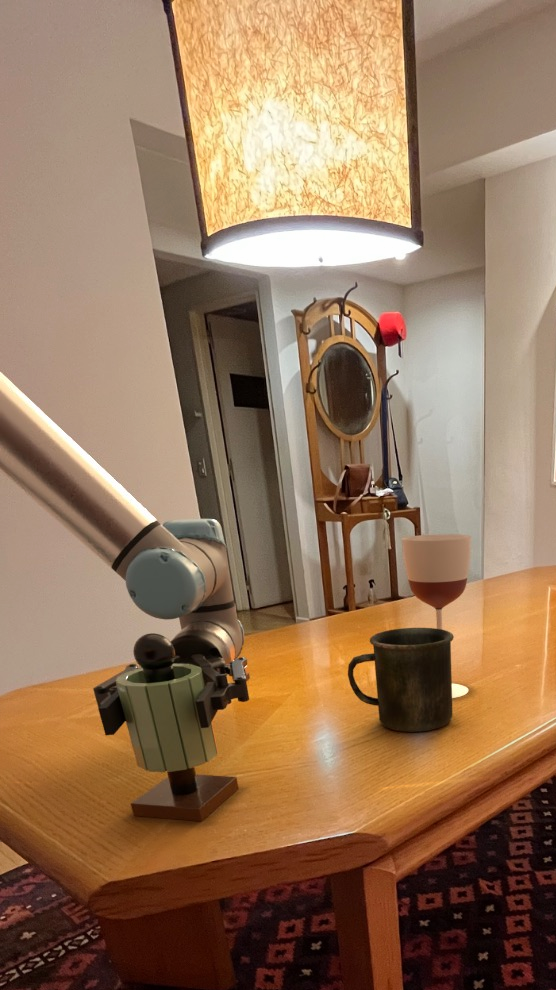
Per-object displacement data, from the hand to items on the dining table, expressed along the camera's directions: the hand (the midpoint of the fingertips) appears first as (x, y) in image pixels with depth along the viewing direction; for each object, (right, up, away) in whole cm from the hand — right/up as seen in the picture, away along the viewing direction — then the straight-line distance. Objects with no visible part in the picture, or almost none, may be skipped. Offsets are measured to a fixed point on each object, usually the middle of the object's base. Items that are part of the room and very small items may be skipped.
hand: (154, 718), depth 65 cm
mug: (+22, +3, +30) cm, 38 cm away
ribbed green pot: (0, -3, +7) cm, 8 cm away
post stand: (0, -8, +9) cm, 12 cm away
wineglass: (+27, +9, +43) cm, 52 cm away
